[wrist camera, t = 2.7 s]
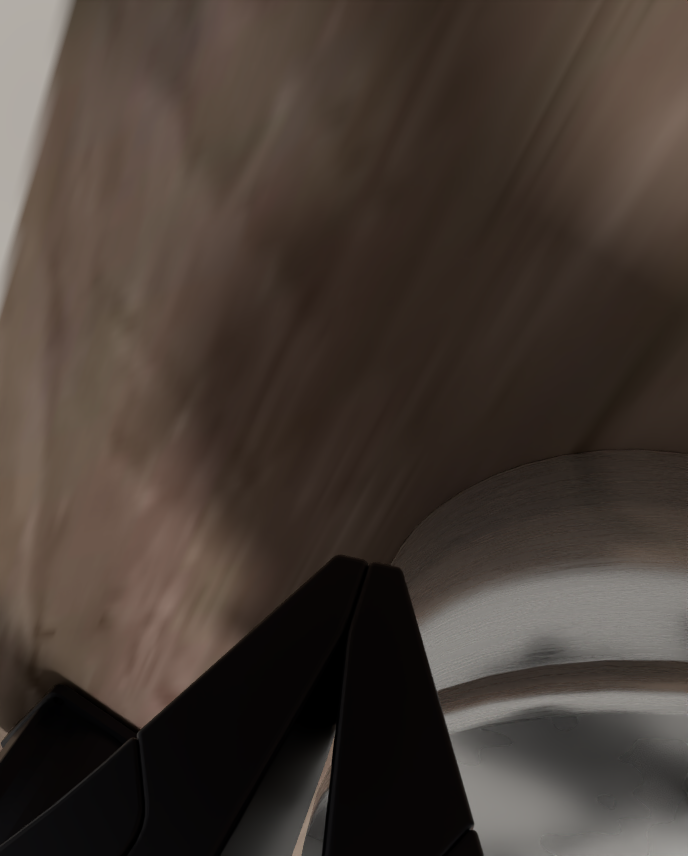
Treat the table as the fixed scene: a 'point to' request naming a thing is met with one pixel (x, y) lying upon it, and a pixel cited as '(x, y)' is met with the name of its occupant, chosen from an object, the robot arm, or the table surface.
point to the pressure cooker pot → (554, 566)
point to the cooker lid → (568, 759)
